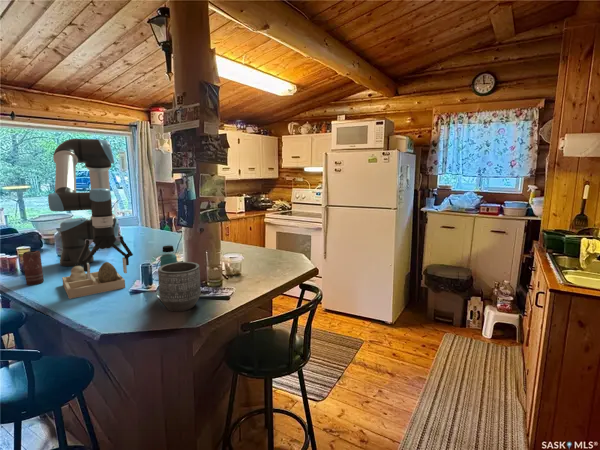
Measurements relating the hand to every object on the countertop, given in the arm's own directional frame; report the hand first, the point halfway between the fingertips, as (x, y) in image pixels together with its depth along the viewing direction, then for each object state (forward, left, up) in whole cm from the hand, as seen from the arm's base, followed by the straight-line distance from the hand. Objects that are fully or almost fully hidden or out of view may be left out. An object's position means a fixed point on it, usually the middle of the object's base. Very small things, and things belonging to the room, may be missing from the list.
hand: (107, 275), depth 147 cm
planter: (+39, +16, -5) cm, 43 cm away
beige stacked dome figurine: (-9, -10, -4) cm, 14 cm away
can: (-26, -24, -5) cm, 35 cm away
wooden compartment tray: (-5, -5, -5) cm, 8 cm away
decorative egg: (0, 0, -4) cm, 4 cm away
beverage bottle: (+25, +17, -5) cm, 31 cm away
